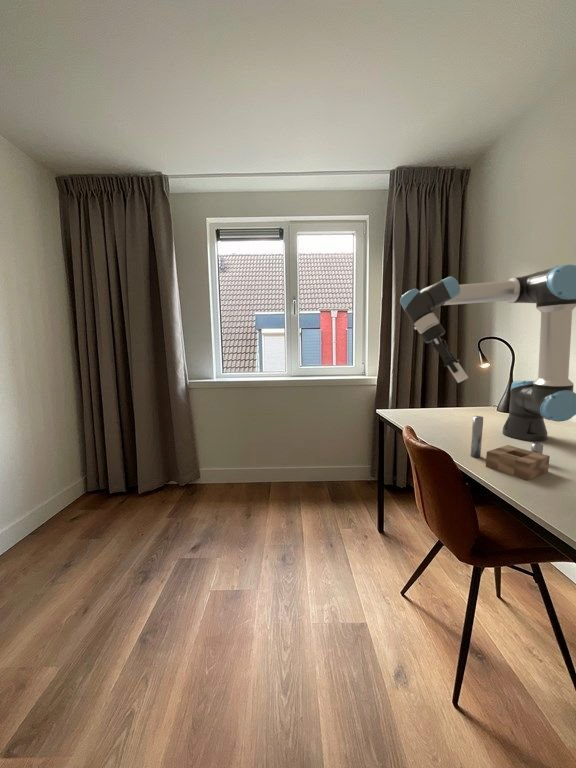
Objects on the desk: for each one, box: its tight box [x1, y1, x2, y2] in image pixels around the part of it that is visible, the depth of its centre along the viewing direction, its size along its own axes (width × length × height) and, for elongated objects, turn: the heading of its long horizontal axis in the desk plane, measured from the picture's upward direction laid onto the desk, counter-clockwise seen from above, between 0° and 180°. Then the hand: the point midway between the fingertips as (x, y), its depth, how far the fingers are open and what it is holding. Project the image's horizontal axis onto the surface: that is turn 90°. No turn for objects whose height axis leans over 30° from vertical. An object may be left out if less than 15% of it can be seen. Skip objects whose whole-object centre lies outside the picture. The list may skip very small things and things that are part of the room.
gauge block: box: [485, 444, 550, 481], centre depth 103 cm, size 12×12×5 cm
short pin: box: [530, 442, 544, 454], centre depth 109 cm, size 3×3×6 cm
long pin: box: [470, 415, 484, 459], centre depth 114 cm, size 3×3×14 cm
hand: (463, 380), depth 114 cm, fingers open, 13 cm apart
